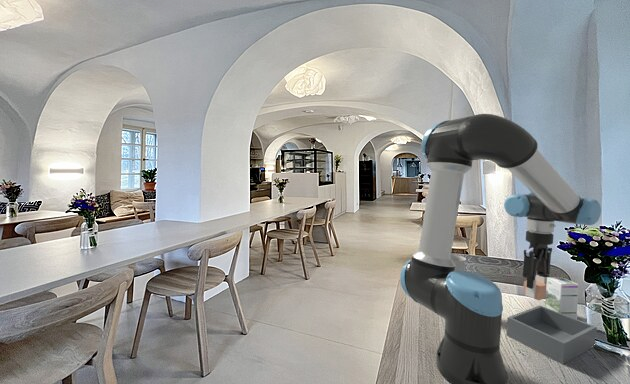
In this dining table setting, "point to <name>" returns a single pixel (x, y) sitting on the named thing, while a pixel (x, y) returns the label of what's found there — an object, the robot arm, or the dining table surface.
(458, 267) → the chalice
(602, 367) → the dining table surface
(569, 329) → the tote
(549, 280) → the syrup box
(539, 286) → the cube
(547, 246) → the robot arm
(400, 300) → the dining table surface
